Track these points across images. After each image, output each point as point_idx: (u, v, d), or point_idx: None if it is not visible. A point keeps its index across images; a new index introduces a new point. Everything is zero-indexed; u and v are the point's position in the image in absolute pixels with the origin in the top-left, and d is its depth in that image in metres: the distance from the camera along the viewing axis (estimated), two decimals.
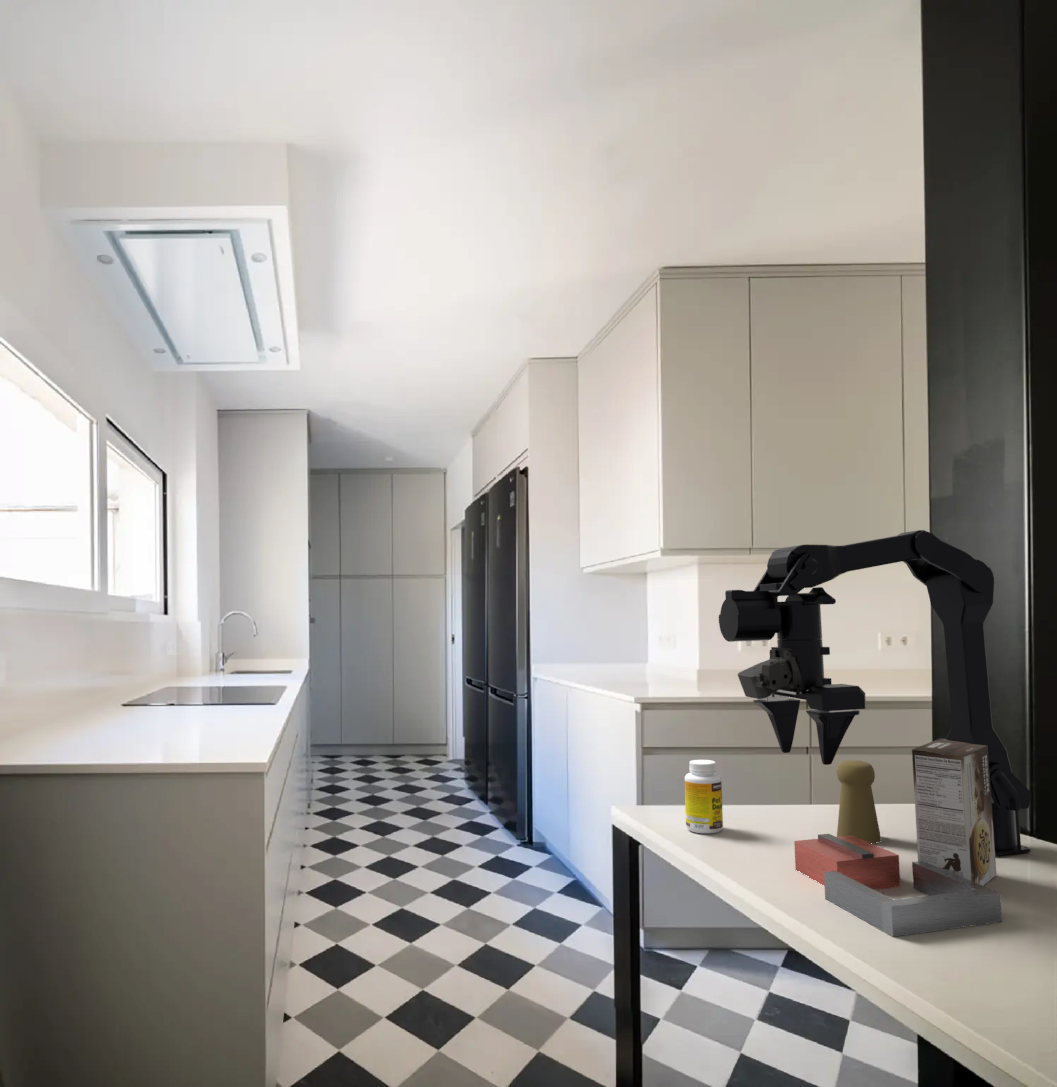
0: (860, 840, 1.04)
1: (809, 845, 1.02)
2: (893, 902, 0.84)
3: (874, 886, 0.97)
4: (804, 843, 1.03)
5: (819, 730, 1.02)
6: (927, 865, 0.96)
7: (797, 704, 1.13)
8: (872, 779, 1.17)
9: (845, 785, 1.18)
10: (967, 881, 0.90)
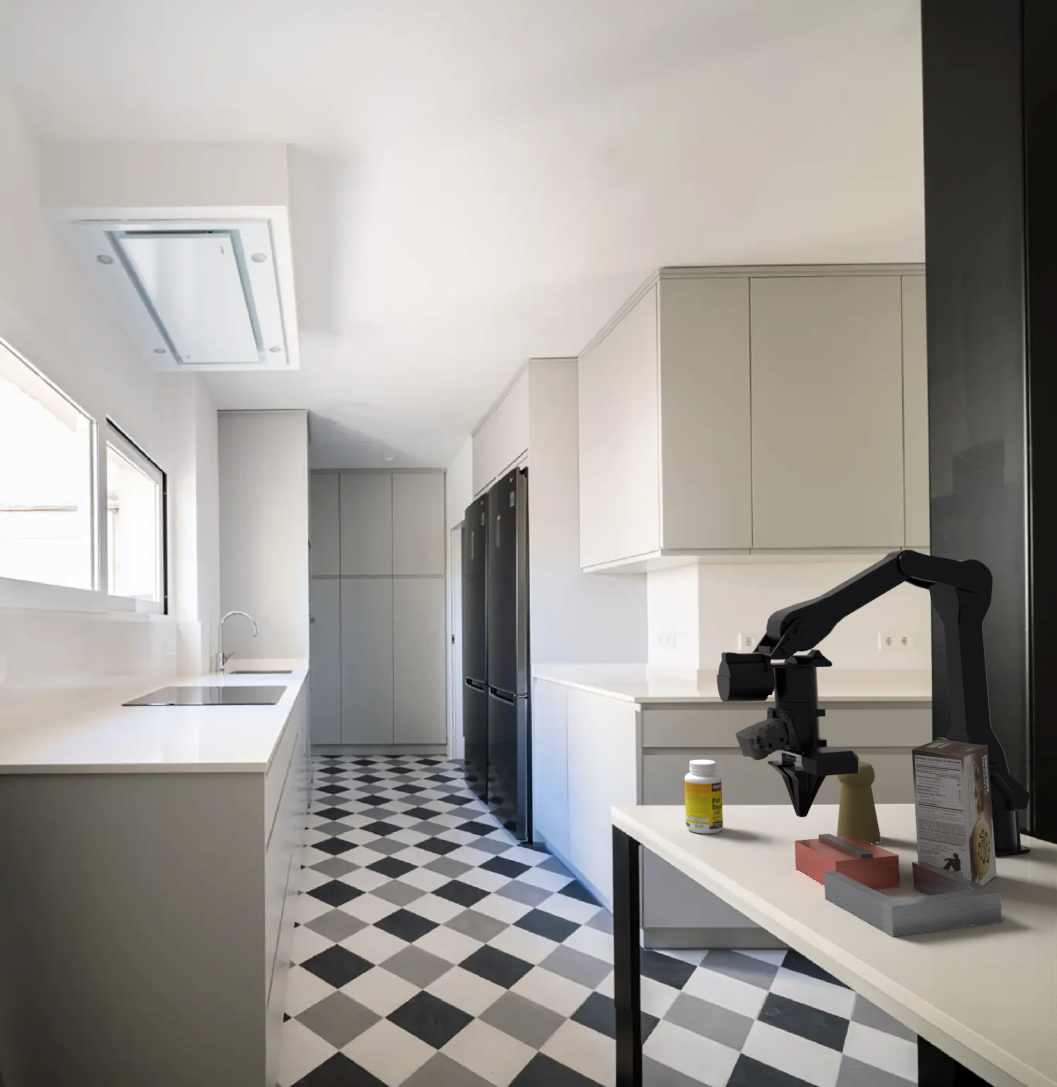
0: (861, 840, 1.04)
1: (809, 845, 1.02)
2: (893, 902, 0.84)
3: (873, 886, 0.97)
4: (804, 843, 1.03)
5: (795, 785, 1.09)
6: (927, 865, 0.96)
7: None
8: (872, 779, 1.17)
9: (845, 785, 1.18)
10: (967, 881, 0.90)
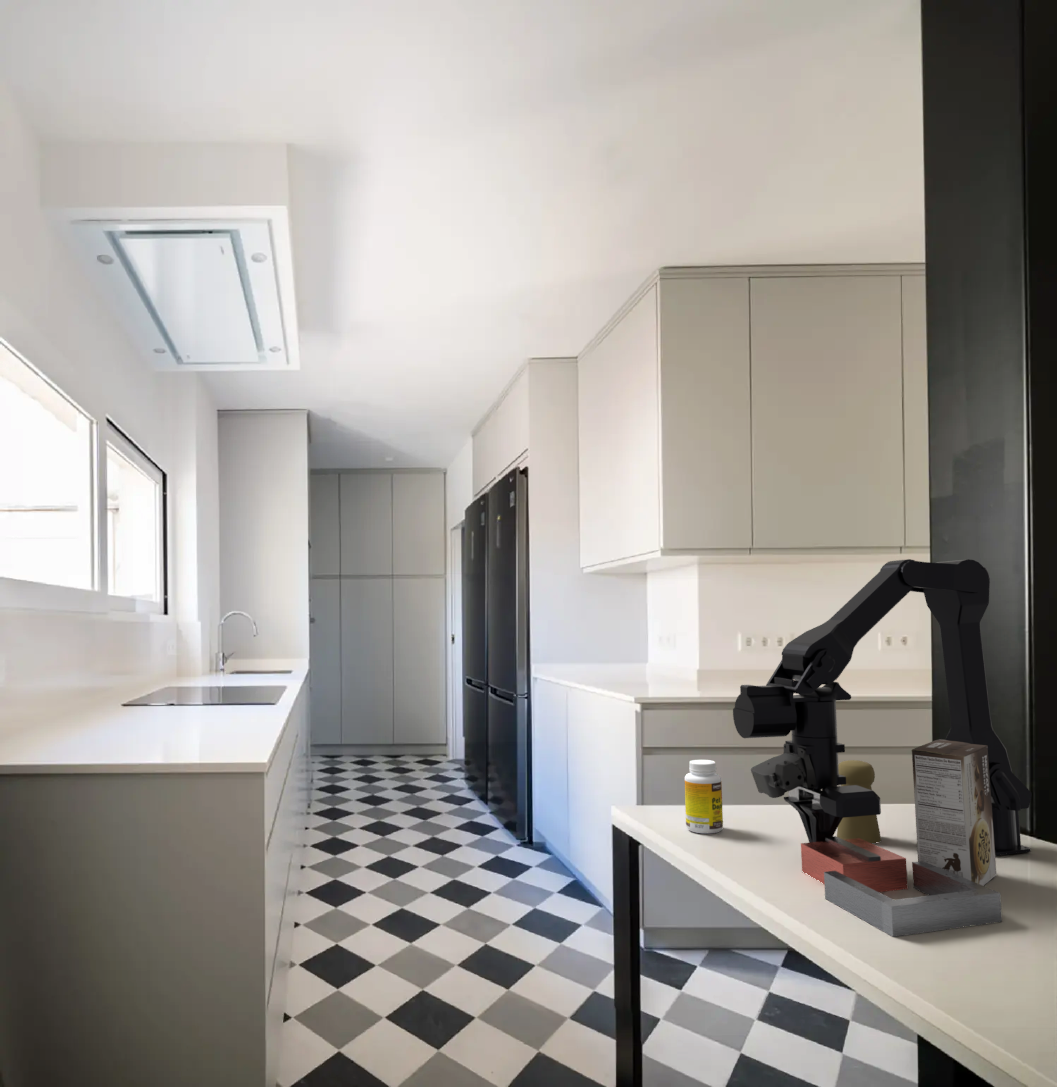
0: (867, 843, 1.03)
1: (816, 847, 1.02)
2: (893, 902, 0.84)
3: (880, 890, 0.96)
4: (811, 845, 1.03)
5: (812, 823, 1.05)
6: (927, 865, 0.96)
7: None
8: (872, 779, 1.17)
9: (845, 785, 1.18)
10: (967, 881, 0.90)
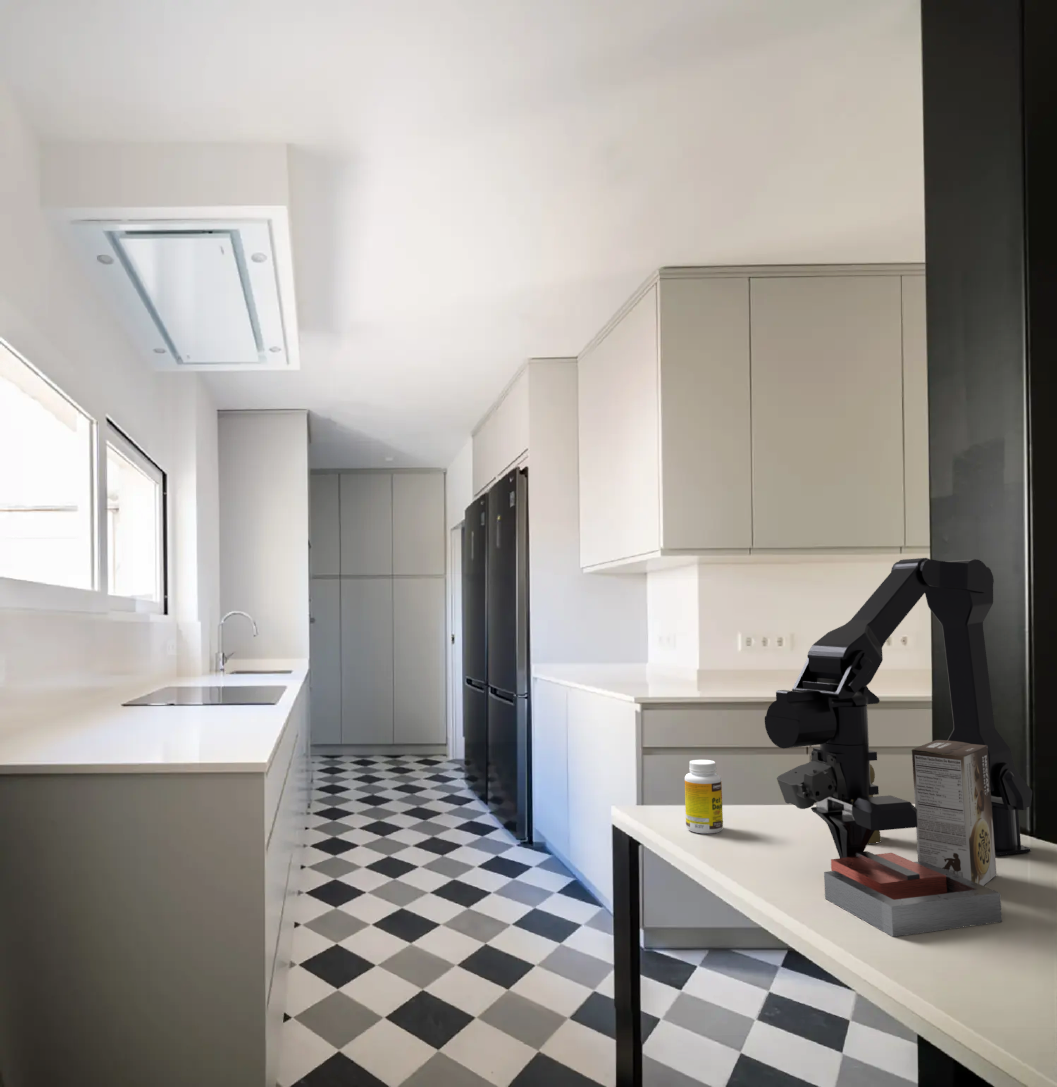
0: (901, 858, 0.97)
1: (848, 864, 0.96)
2: (893, 902, 0.84)
3: None
4: (842, 862, 0.96)
5: (842, 836, 0.99)
6: (927, 865, 0.96)
7: None
8: (872, 779, 1.17)
9: None
10: (967, 881, 0.90)
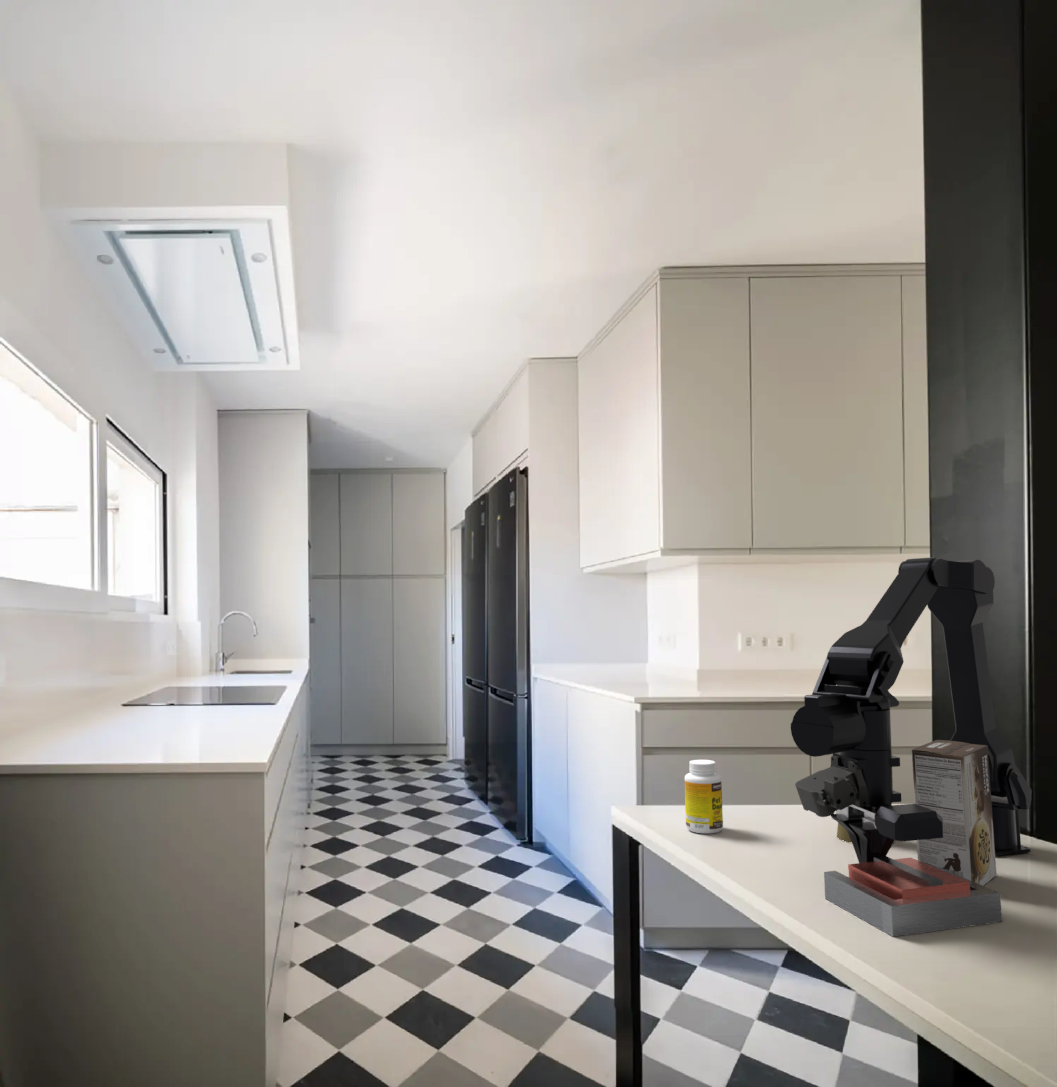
0: (921, 863, 0.94)
1: (866, 869, 0.92)
2: (893, 902, 0.84)
3: None
4: (860, 867, 0.93)
5: (862, 844, 0.96)
6: None
7: None
8: None
9: None
10: None
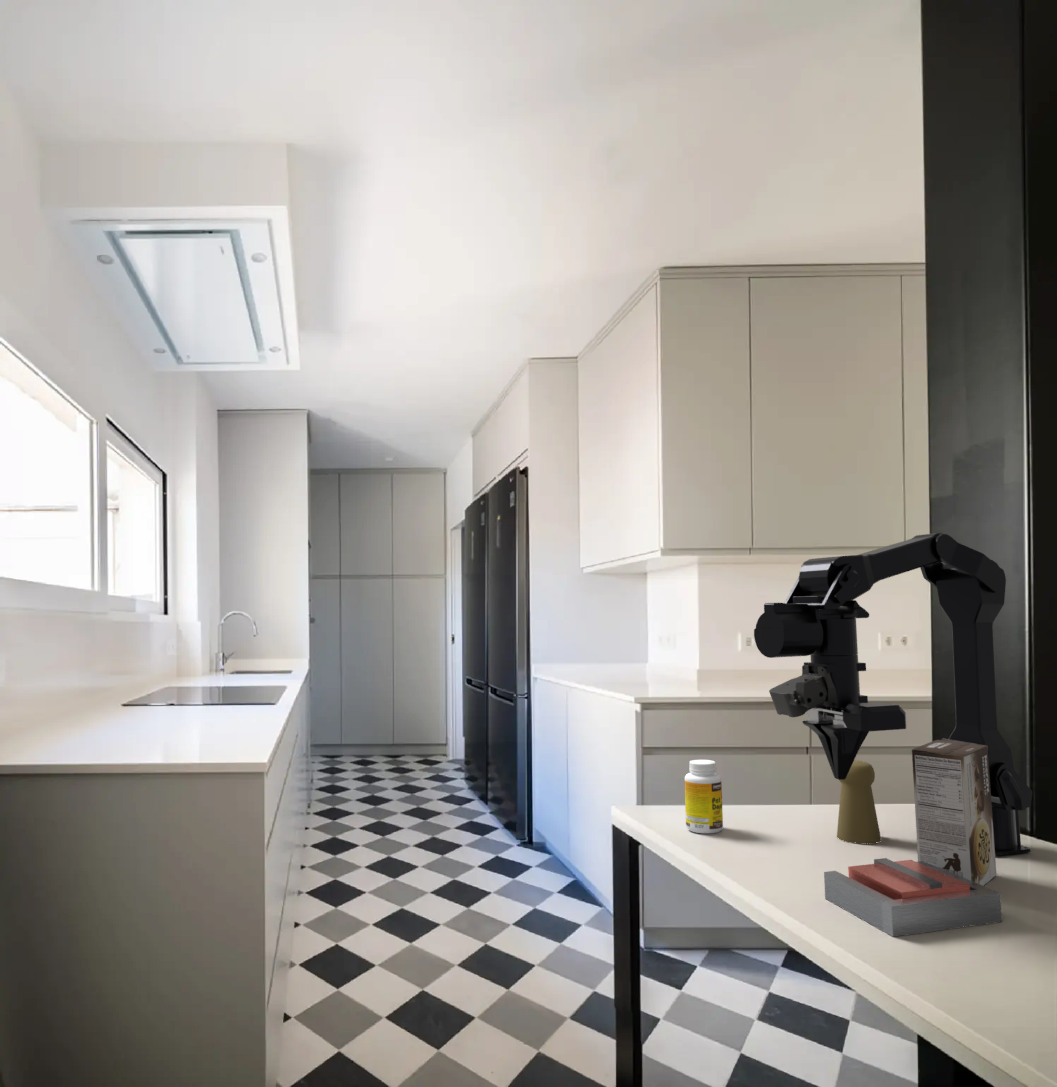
0: (922, 866, 0.94)
1: (866, 872, 0.92)
2: (893, 902, 0.84)
3: None
4: (860, 869, 0.93)
5: (833, 745, 1.02)
6: (927, 865, 0.96)
7: None
8: (872, 779, 1.17)
9: (845, 785, 1.18)
10: (967, 881, 0.90)
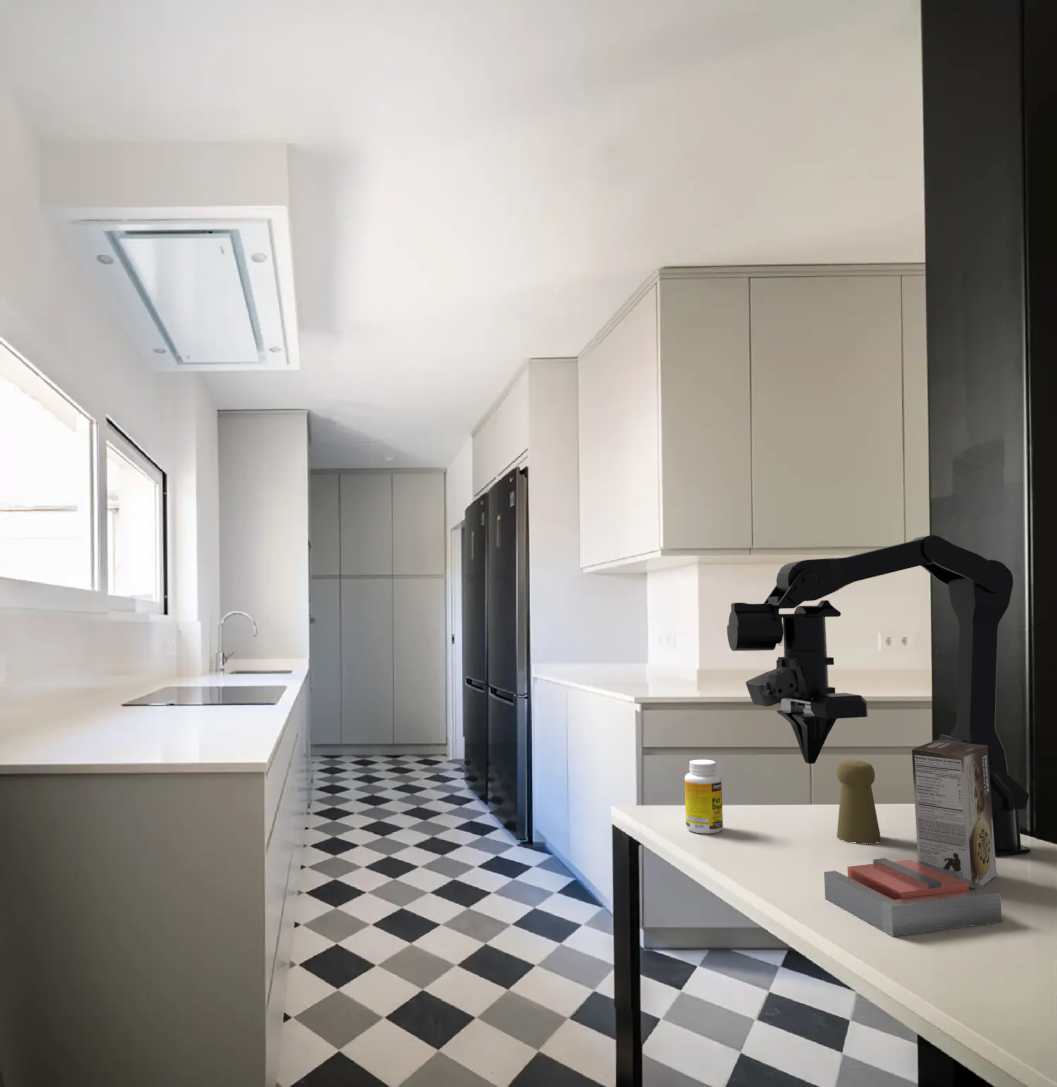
0: (921, 865, 0.94)
1: (865, 872, 0.92)
2: (893, 902, 0.84)
3: None
4: (859, 869, 0.93)
5: (804, 732, 1.12)
6: (927, 865, 0.96)
7: None
8: (872, 779, 1.17)
9: (845, 785, 1.18)
10: (967, 881, 0.90)
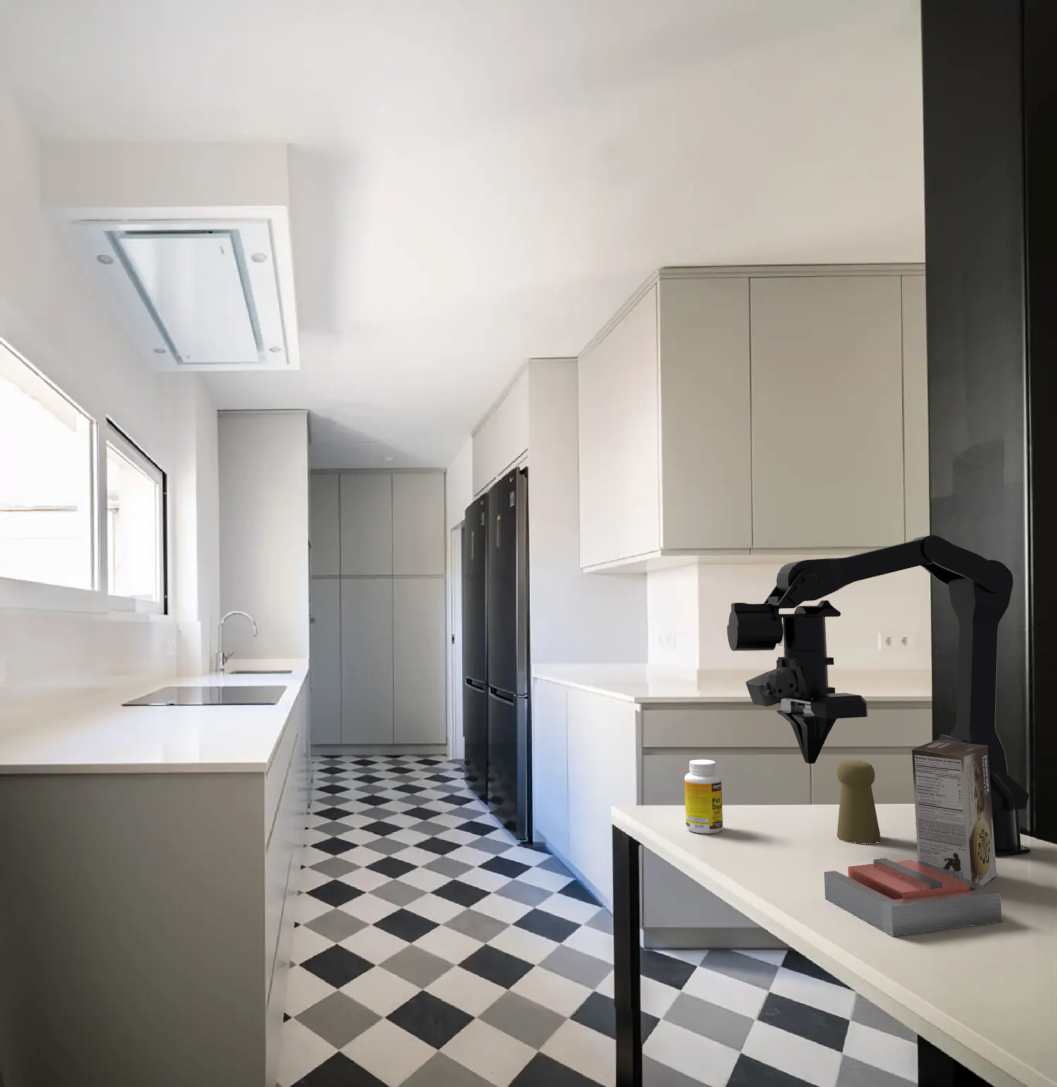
0: (921, 866, 0.94)
1: (866, 872, 0.92)
2: (893, 902, 0.84)
3: None
4: (860, 869, 0.93)
5: (804, 732, 1.12)
6: (927, 865, 0.96)
7: None
8: (872, 779, 1.17)
9: (845, 785, 1.18)
10: (967, 881, 0.90)
